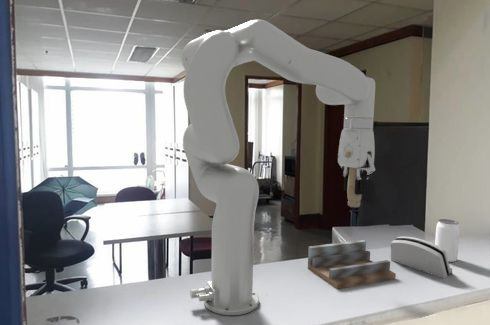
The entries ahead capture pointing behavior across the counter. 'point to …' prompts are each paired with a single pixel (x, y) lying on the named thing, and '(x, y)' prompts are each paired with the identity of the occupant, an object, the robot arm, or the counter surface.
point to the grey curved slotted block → (420, 255)
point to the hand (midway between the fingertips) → (354, 191)
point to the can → (448, 237)
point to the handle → (352, 186)
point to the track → (347, 264)
